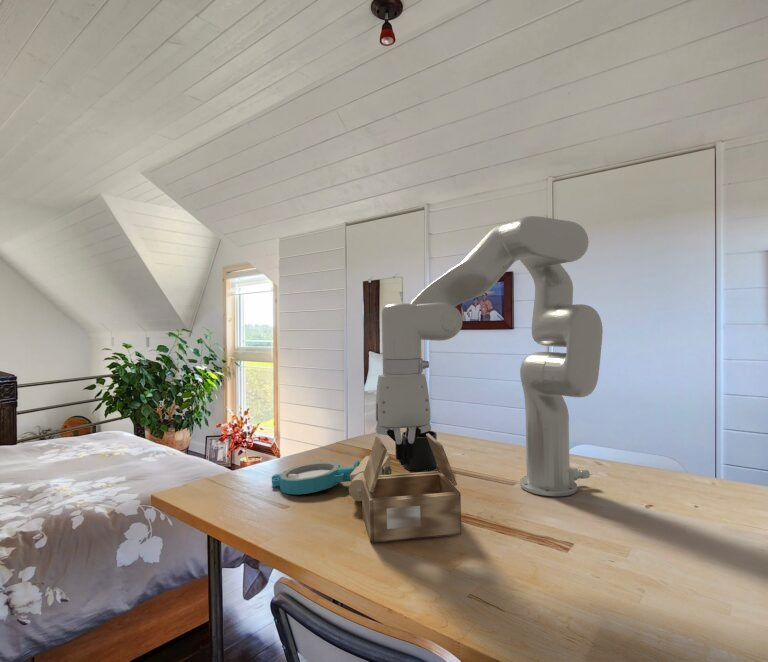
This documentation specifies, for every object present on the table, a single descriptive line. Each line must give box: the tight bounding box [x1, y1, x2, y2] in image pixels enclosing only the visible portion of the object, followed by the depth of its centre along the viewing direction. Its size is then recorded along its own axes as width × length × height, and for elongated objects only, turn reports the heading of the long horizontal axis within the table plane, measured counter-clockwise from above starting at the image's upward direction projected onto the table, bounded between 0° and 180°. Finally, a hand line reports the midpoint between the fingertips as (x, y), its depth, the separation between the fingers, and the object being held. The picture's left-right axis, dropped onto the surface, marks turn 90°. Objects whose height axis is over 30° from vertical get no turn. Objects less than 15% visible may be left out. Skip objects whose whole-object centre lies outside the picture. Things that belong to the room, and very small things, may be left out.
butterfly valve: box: [271, 451, 393, 502], centre depth 111 cm, size 27×7×30 cm
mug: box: [401, 430, 438, 472], centre depth 127 cm, size 9×12×9 cm
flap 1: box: [363, 435, 388, 492], centre depth 88 cm, size 1×10×8 cm, turn 9°
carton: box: [361, 470, 462, 544], centre depth 89 cm, size 17×14×8 cm
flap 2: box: [426, 433, 458, 487], centre depth 90 cm, size 1×10×8 cm, turn 10°
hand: (404, 462), depth 89 cm, fingers closed
